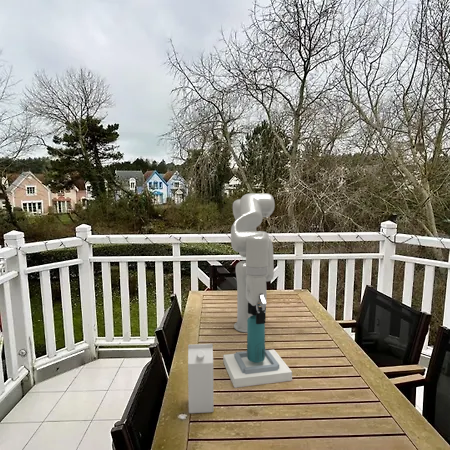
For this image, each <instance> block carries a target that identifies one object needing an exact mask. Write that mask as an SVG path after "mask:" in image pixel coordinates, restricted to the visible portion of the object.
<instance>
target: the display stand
mask: <svg viewBox="0 0 450 450" xmlns="http://www.w3.org/2000/svg"><path fill="white" fill-rule="evenodd" d="M222 361H223V362H222V363H223V365H224V367H225V369H226V371H227V375H228V376H229V379H230V381H231V383H232V385H233V388H234V389H236V388H243V387H250V386H251V387H252V386H258V385H259V386H260V385H265V384H266V385H268V384H274V383H283V382H290V381H293V371H292V370H291V368H290V367H289V366H288V365H287V364H286V362H285V361H284V360H283V359H282V357H281V356H280V355H279V353H278V352H277V351H276V350H275V349H266V348H265V359H264V361H262V362H257V363H256V362H251V361H249V360H248V358H247V350H245V351H236V352H235V353H229V354H223V359H222Z"/></svg>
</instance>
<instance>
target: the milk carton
mask: <svg viewBox="0 0 450 450" xmlns="http://www.w3.org/2000/svg"><path fill="white" fill-rule="evenodd" d="M213 349H214V347H213V343H202V344H201V343H200V344H199V343H198V344H197V343H196V344H195V343H194V344H188V347H187V350H188V351H187V353H188V354H187V355H188V356H187V369H188V371H187V372H188V373H187V375H188V376H187V384H188V388H187V389H188V414H201V413H214V351H213Z"/></svg>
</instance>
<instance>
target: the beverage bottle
mask: <svg viewBox="0 0 450 450" xmlns="http://www.w3.org/2000/svg"><path fill="white" fill-rule="evenodd" d="M260 307H261V306H259V308H260ZM256 312H257V309H256V306H254V307H251V308H250V314H251V315H252V316H250V317H249V318H248V319H247V334H246V335H247V336H246V351H247V358H248V360H249V361H251V362H256V363H257V362H262V361H264V359H265V349H266V328H265V327H266V325H265V324H266V323H265V324H256Z"/></svg>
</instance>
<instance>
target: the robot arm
mask: <svg viewBox="0 0 450 450" xmlns="http://www.w3.org/2000/svg"><path fill="white" fill-rule="evenodd" d="M275 202H276V201H275V199H274V196H273V195H272V194H270V193H265V192H263V193H254V192H253V193H252V192H251V193H250V192H249V193H246V194H244V195H242V197H241V198H238V199H236V200H234V201H233V202H232V214H233V217H234V222H232V223H233V224H232V225H231V228H230V244H231V248H232V249H233V251H234V252H238V253H239V254H238V255H239V256H241V257H242V258H245V260H241V261H239V262H238V263H236V265H235V276H236V277H235V278H236V287H237V288H236V291H237V296H236V297H237V298H236V299H237V301H236V302H237V307H236V310H237V311H236V312H237V313H236V316H237V319H236V322H235V323H234V324H233V328H234V329H235V330H236V331H237V332H241V333H247V319H248V318H249V317H250V316H252V315H251V314H250V308H251V307H254V306H256V309H257V312H256V324H266V312H267V282H271V281H272V280H273V279H274V276H275V270H274V269H275V267H274V264H275V263H274V246H273V241H272V239H271V236H270V235H269V233H268V232H266V231H260V230H259V231H257V228H258V227H259V226H260V225H261V223H262V222H263V218H268V217H270V216H271V215H272V214H273V213H274V210H275V206H276V205H275ZM259 307H260V308H259Z"/></svg>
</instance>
